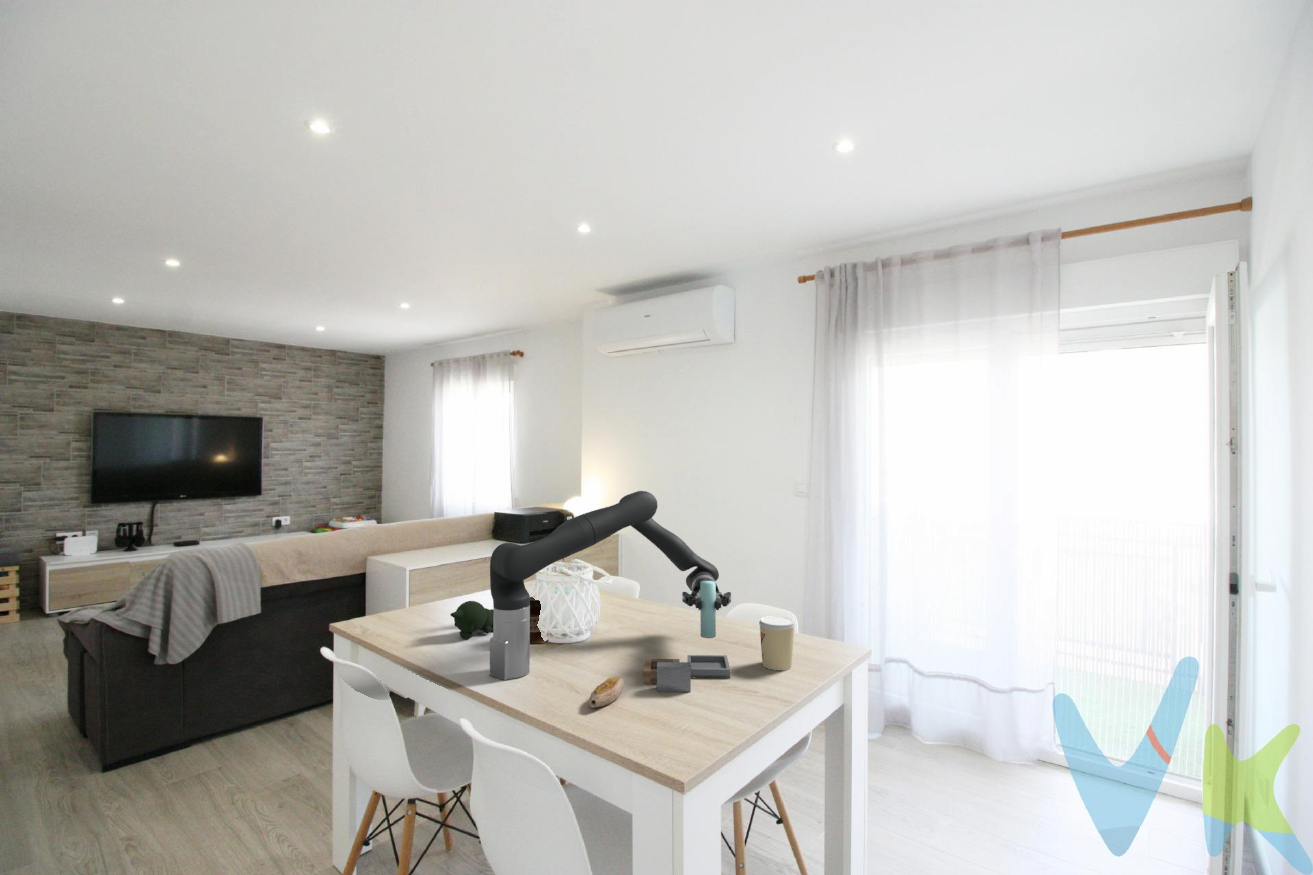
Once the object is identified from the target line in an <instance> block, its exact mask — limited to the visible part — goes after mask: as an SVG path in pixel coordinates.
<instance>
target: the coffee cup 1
mask: <svg viewBox="0 0 1313 875" xmlns="http://www.w3.org/2000/svg"><path fill="white" fill-rule="evenodd" d="M533 597H534V596H530V644H543V643H545V642H544V640H543V638H542V637H541V632H540V630H539V628H538V626H537V624H538V621H539V615H540V610H541V604H540V601H539V600H535V599H534V598H533Z"/></svg>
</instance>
